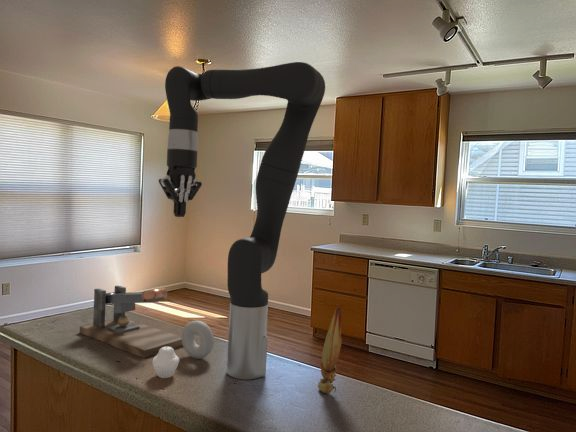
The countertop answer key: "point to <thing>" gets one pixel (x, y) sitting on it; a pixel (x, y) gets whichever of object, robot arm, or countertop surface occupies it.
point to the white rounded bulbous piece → (165, 362)
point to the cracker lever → (134, 299)
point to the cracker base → (126, 330)
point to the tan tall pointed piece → (331, 353)
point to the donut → (204, 335)
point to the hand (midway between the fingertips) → (179, 216)
